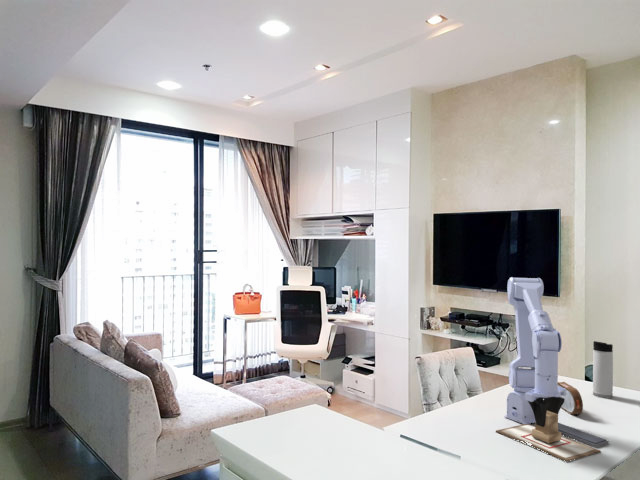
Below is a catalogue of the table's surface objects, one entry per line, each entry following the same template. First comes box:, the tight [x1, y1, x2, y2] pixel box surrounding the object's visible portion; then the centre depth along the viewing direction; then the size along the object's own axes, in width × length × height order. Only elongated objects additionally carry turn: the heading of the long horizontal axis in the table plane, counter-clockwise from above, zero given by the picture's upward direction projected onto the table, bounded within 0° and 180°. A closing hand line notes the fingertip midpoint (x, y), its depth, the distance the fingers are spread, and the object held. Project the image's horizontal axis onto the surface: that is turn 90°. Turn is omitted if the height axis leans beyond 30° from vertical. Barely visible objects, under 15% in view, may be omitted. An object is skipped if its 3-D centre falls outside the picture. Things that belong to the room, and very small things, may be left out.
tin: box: [558, 381, 584, 415], centre depth 159 cm, size 15×3×8 cm, turn 179°
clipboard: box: [495, 424, 602, 462], centre depth 131 cm, size 14×22×1 cm, turn 28°
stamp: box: [532, 411, 562, 444], centre depth 131 cm, size 5×5×7 cm
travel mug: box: [592, 340, 614, 399], centre depth 176 cm, size 6×7×20 cm
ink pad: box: [558, 422, 610, 449], centre depth 136 cm, size 6×17×1 cm, turn 28°
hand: (545, 424), depth 131 cm, fingers closed on stamp, 4 cm apart
